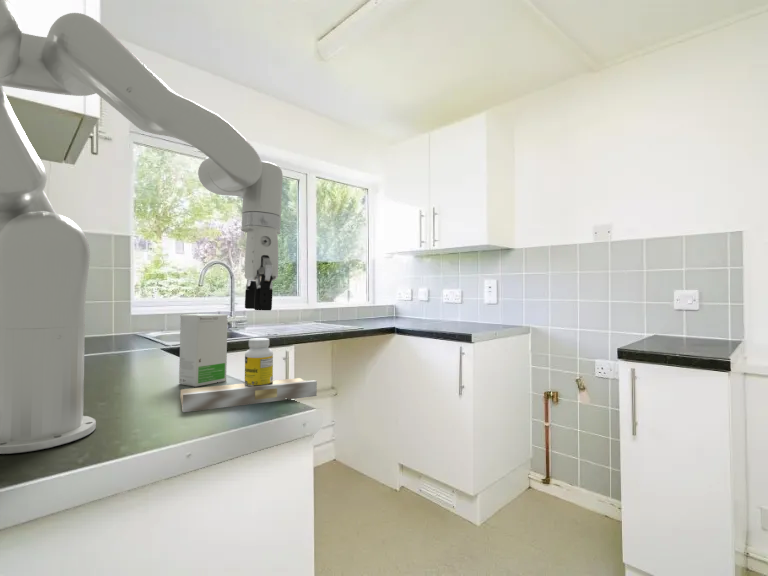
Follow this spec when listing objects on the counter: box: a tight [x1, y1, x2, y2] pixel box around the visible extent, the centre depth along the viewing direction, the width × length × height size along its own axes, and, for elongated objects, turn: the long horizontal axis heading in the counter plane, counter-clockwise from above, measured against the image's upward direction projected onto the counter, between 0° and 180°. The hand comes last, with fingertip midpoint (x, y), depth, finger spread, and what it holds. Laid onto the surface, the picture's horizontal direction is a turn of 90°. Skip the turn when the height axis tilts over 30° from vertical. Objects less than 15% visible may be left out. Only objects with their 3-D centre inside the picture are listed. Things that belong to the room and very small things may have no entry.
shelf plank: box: [179, 377, 318, 413], centre depth 79 cm, size 24×11×3 cm, turn 119°
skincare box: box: [178, 313, 228, 388], centre depth 91 cm, size 8×7×16 cm
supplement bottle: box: [244, 337, 274, 387], centre depth 80 cm, size 5×5×10 cm
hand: (257, 309), depth 80 cm, fingers open, 9 cm apart
